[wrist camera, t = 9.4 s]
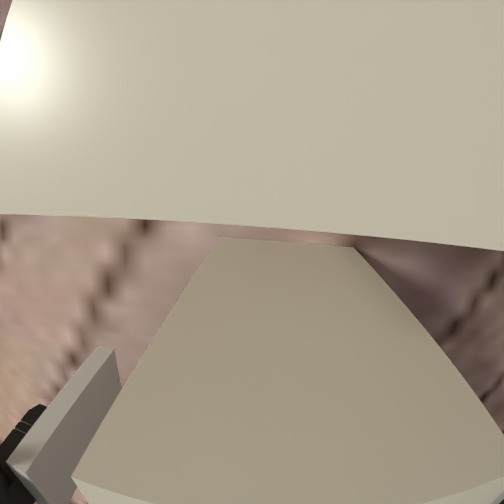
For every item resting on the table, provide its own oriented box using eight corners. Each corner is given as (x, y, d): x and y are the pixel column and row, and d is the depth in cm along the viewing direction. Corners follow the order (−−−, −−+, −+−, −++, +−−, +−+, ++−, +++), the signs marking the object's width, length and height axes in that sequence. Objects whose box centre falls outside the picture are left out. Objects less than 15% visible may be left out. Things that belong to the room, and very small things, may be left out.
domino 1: (226, 113, 10) (38, -63, 1) (365, 126, 10) (623, 65, 1) (222, 168, 11) (-13, 213, 1) (361, 180, 11) (621, 269, 1)
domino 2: (219, 236, 12) (70, 476, 2) (353, 247, 11) (523, 467, 2) (217, 287, 12) (118, 542, 3) (345, 296, 12) (450, 538, 2)
